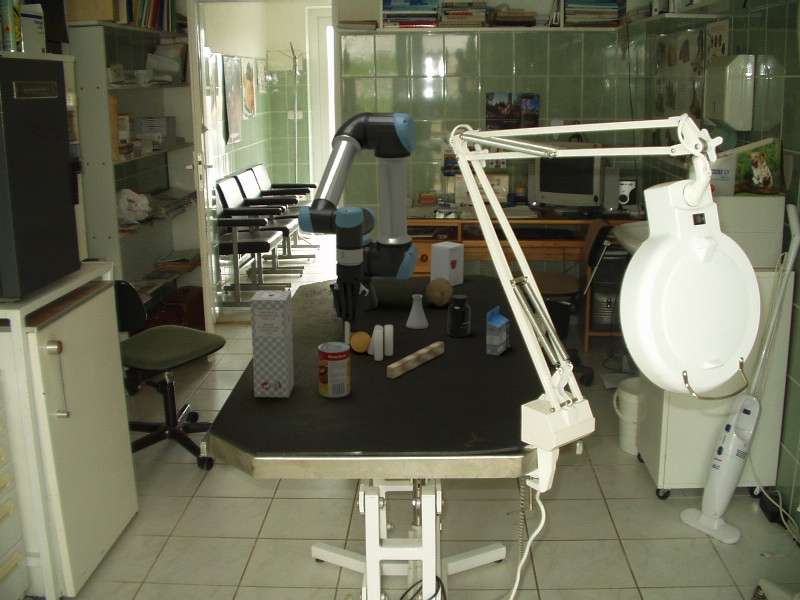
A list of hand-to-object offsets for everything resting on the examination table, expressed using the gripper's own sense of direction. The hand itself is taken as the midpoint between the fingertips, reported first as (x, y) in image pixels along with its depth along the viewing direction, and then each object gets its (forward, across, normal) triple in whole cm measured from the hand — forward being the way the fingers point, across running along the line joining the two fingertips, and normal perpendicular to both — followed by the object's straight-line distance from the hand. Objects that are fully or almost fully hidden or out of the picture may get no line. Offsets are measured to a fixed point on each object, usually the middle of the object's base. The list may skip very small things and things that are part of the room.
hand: (349, 342), depth 253 cm
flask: (+2, +3, +30) cm, 31 cm away
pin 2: (+2, +12, +3) cm, 12 cm away
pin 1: (+2, +12, -2) cm, 12 cm away
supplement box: (+2, -17, +82) cm, 84 cm away
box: (+3, +4, -36) cm, 37 cm away
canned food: (+3, +17, -28) cm, 33 cm away
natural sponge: (+2, -3, +54) cm, 54 cm away
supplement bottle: (+2, +18, +31) cm, 36 cm away
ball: (-1, +4, 0) cm, 4 cm away
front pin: (+2, +7, +1) cm, 8 cm away
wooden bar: (+2, +22, +1) cm, 23 cm away
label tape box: (+2, +35, +24) cm, 43 cm away
